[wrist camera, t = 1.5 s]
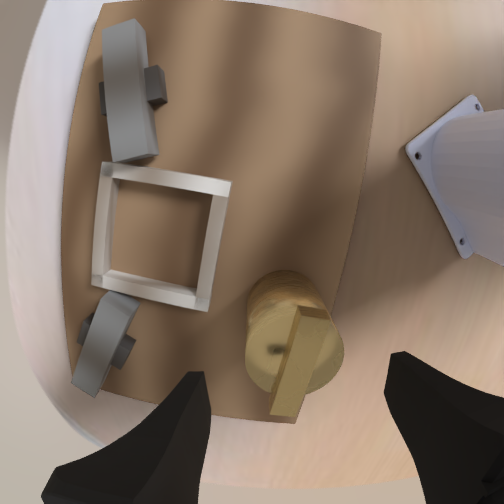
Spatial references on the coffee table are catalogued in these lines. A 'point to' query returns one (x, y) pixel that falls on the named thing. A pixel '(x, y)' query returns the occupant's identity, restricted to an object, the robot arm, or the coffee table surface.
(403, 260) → the coffee table surface
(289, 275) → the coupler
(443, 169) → the robot arm
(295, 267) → the tan wooden flat board
